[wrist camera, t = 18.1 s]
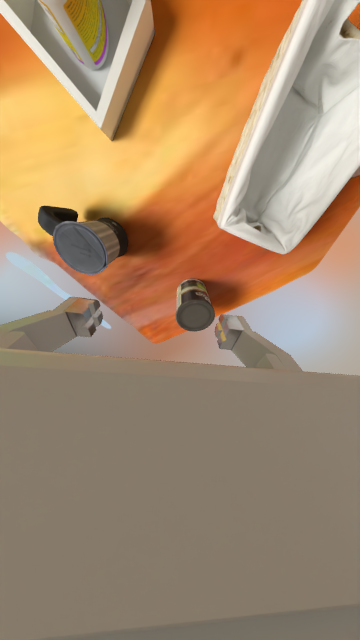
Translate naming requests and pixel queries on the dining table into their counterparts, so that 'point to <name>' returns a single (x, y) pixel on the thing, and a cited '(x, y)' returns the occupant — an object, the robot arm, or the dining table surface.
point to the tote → (81, 82)
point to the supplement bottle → (81, 28)
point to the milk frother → (83, 239)
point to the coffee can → (193, 306)
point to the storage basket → (298, 132)
